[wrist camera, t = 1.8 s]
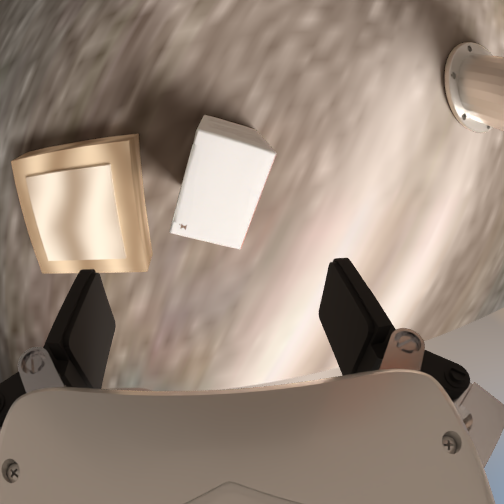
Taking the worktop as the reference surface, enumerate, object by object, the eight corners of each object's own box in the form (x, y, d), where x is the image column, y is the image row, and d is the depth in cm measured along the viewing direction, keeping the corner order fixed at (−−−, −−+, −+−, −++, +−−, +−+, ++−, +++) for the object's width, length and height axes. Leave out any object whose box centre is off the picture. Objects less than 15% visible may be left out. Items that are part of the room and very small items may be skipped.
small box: (232, 199, 31) (240, 253, 23) (181, 186, 30) (167, 236, 21) (258, 128, 28) (279, 153, 19) (203, 112, 26) (196, 128, 17)
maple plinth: (138, 133, 26) (127, 141, 23) (152, 253, 34) (146, 273, 30) (28, 151, 25) (9, 162, 21) (53, 256, 32) (41, 275, 29)
